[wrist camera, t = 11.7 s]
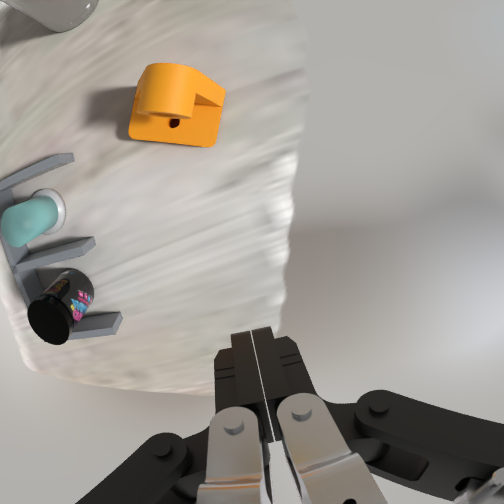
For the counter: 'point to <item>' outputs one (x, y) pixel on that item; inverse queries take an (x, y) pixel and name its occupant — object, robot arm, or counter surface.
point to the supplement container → (61, 306)
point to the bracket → (176, 106)
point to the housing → (45, 222)
